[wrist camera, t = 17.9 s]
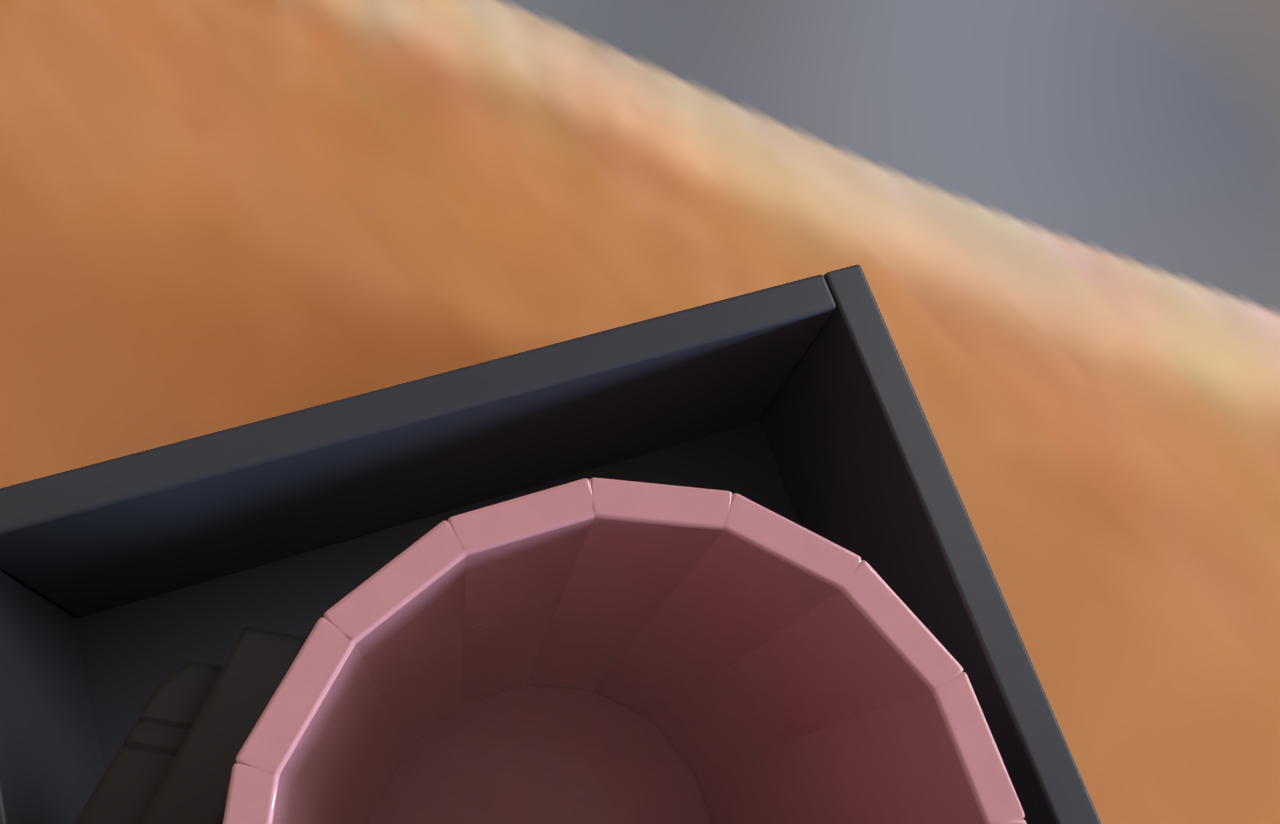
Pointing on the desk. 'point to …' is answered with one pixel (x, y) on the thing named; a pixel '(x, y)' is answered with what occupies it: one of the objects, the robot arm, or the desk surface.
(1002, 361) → the desk surface
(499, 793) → the cup
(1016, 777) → the tub
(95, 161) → the desk surface
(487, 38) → the desk surface
